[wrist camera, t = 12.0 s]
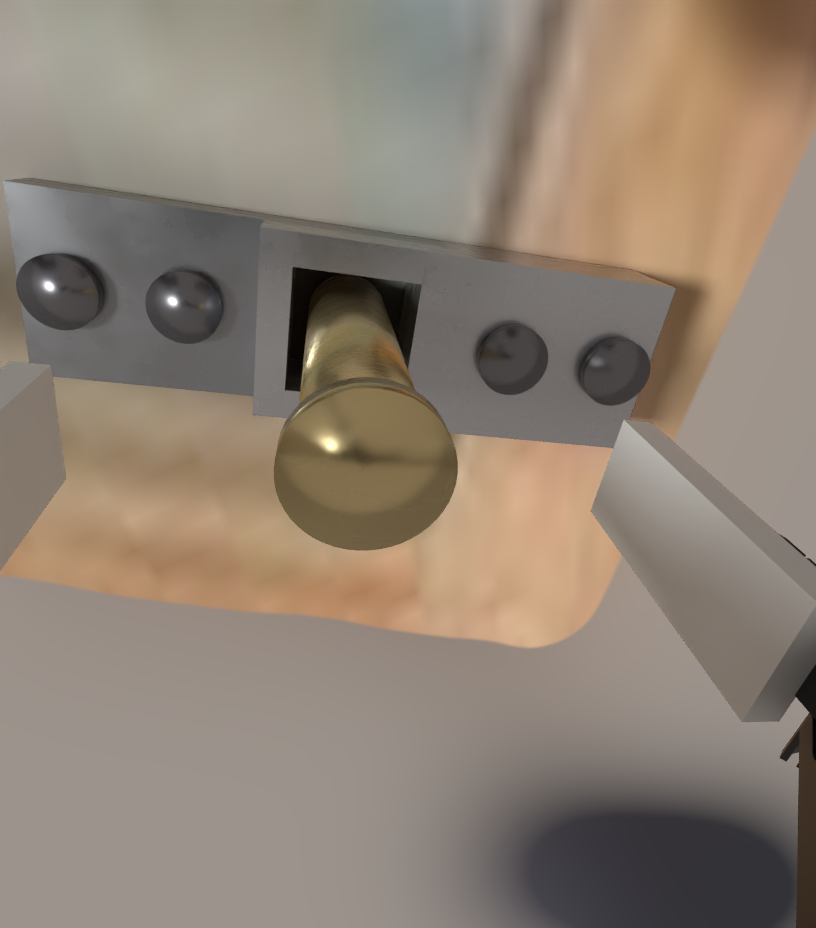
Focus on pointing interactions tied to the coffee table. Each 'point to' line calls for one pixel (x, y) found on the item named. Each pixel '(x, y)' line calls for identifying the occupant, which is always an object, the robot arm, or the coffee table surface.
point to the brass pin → (360, 430)
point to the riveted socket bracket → (272, 299)
